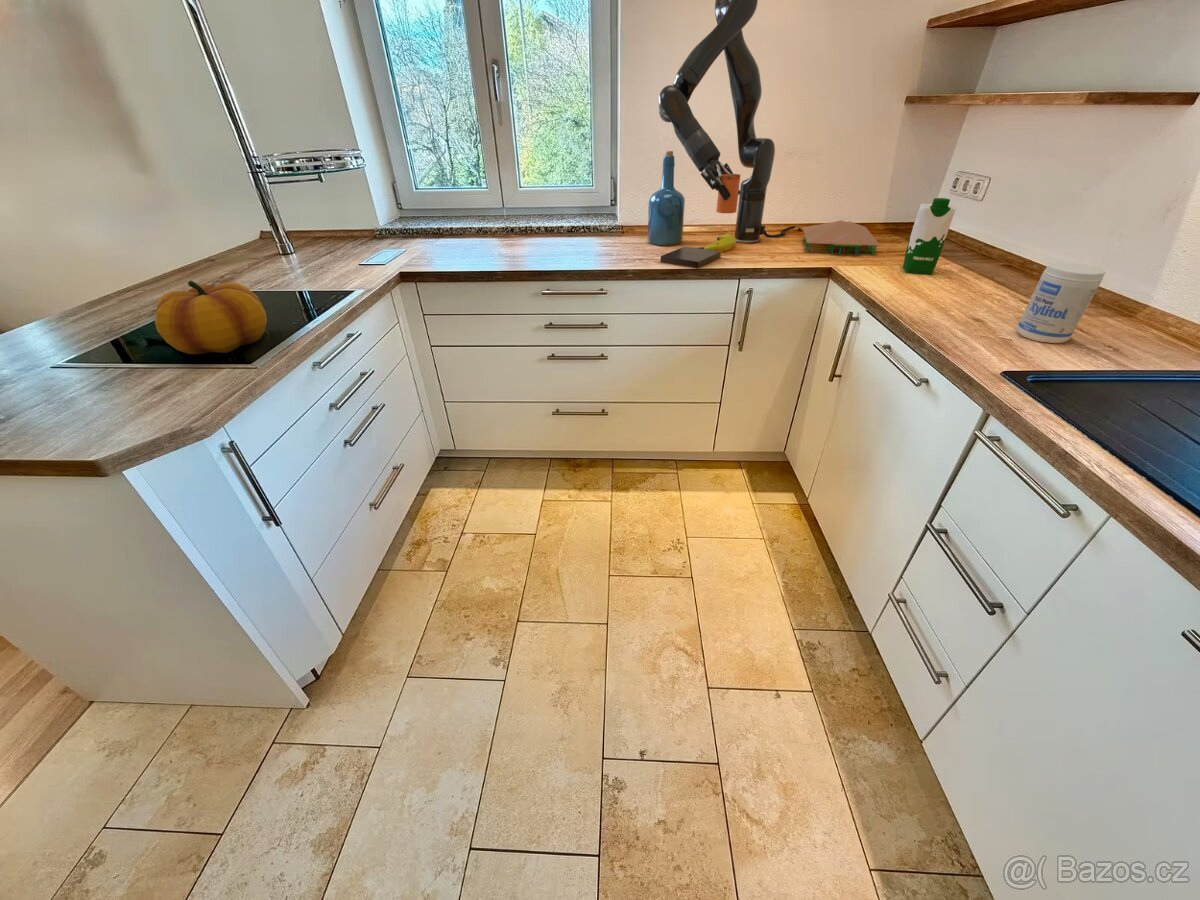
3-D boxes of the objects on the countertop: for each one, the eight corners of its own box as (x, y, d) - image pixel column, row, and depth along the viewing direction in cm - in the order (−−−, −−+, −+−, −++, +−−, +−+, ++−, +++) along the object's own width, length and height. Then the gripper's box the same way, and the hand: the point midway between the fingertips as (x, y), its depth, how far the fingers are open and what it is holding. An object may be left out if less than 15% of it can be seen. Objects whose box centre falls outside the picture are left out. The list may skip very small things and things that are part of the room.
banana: (733, 230, 189) (692, 236, 191) (739, 236, 174) (695, 244, 177) (734, 242, 191) (693, 249, 194) (740, 250, 176) (696, 257, 179)
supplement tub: (1012, 337, 111) (1043, 268, 102) (1017, 324, 117) (1048, 258, 108) (1068, 348, 105) (1106, 276, 97) (1071, 334, 111) (1107, 265, 103)
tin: (721, 209, 160) (725, 173, 154) (739, 211, 157) (743, 174, 151) (712, 212, 156) (716, 175, 151) (730, 214, 153) (735, 176, 147)
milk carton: (903, 273, 152) (925, 200, 141) (899, 265, 159) (920, 195, 148) (936, 275, 150) (961, 201, 139) (930, 267, 157) (954, 196, 146)
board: (684, 252, 180) (684, 246, 179) (720, 257, 173) (721, 251, 172) (660, 262, 169) (660, 256, 168) (697, 268, 162) (698, 261, 161)
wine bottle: (684, 246, 188) (691, 152, 171) (648, 246, 188) (651, 153, 171) (680, 237, 199) (685, 149, 182) (646, 238, 199) (648, 150, 182)
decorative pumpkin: (254, 360, 110) (223, 290, 101) (147, 366, 109) (107, 296, 100) (293, 326, 126) (269, 264, 118) (201, 331, 125) (171, 269, 117)
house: (805, 254, 173) (810, 229, 169) (800, 234, 199) (804, 211, 195) (878, 257, 168) (886, 231, 163) (863, 236, 194) (869, 213, 190)
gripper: (698, 141, 145) (731, 190, 146) (721, 138, 154) (752, 184, 155) (681, 162, 151) (713, 209, 152) (704, 157, 160) (734, 202, 161)
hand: (733, 196), depth 153 cm, fingers closed on tin, 6 cm apart
